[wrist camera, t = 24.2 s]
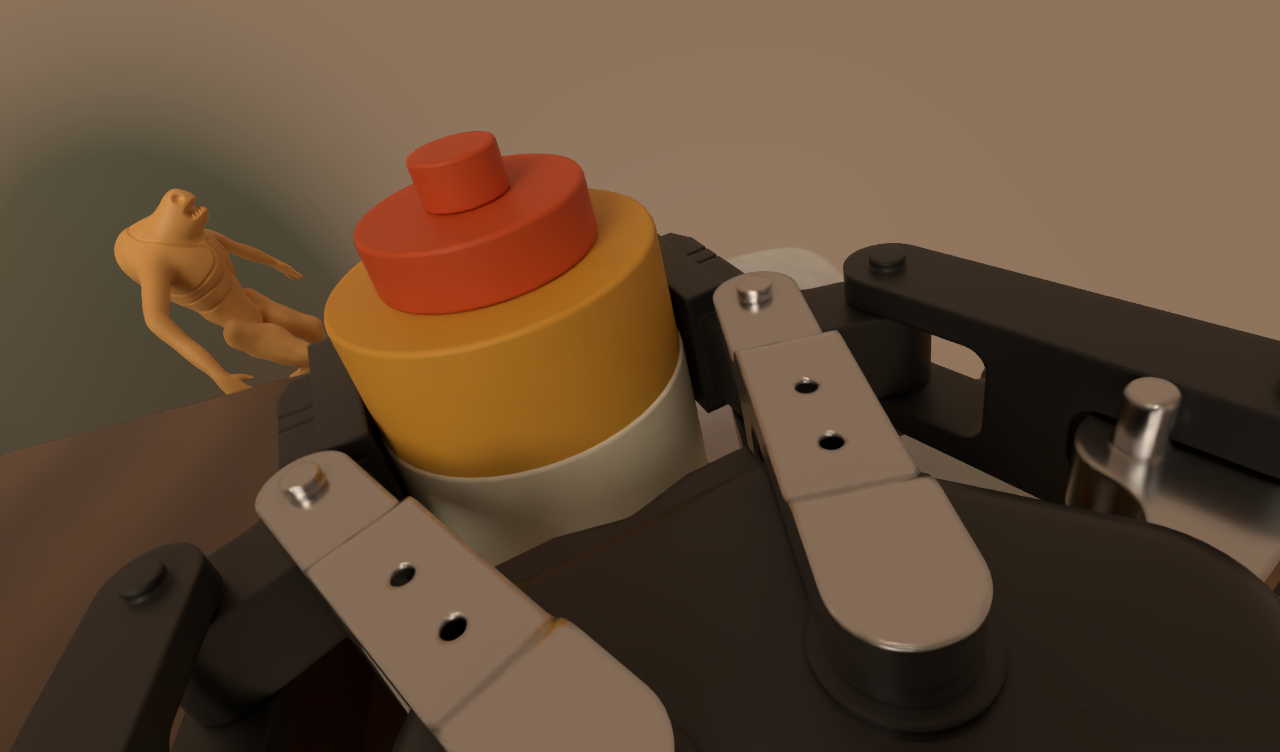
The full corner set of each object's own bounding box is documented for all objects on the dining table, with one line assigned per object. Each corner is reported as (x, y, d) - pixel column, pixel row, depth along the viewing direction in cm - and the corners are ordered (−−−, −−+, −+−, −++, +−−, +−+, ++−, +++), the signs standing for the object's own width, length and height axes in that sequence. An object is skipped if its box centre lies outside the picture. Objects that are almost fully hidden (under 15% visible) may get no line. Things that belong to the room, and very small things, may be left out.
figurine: (460, 543, 24) (283, 201, 17) (277, 604, 23) (19, 276, 16) (452, 402, 31) (324, 117, 24) (310, 446, 30) (137, 168, 23)
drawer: (972, 441, 22) (990, 234, 18) (1288, 797, 13) (1454, 549, 9) (376, 607, 21) (260, 432, 17) (304, 1092, 13) (41, 961, 9)
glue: (769, 690, 13) (670, 152, 8) (506, 766, 13) (203, 277, 7) (703, 504, 17) (606, 63, 12) (502, 560, 17) (304, 142, 11)
